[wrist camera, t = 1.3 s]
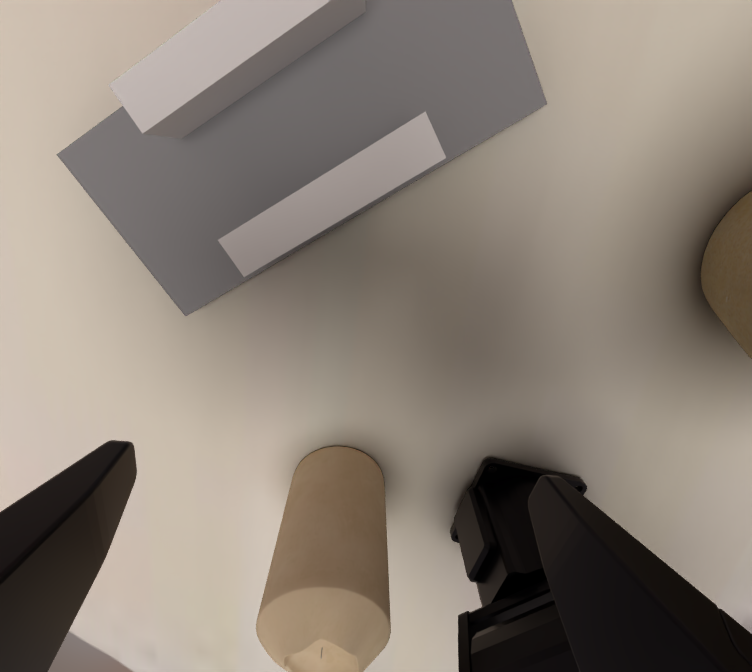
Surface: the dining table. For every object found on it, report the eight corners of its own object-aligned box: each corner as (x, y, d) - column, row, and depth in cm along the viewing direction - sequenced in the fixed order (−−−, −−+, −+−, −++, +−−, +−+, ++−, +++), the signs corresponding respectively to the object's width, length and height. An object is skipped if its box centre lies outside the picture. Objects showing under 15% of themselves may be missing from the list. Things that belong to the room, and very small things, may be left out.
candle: (273, 480, 24) (214, 671, 15) (339, 428, 23) (318, 604, 14) (338, 529, 26) (320, 729, 17) (403, 483, 25) (422, 674, 15)
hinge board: (537, 106, 17) (584, 90, 13) (194, 309, 20) (154, 342, 16) (456, -123, 14) (487, -225, 10) (73, 155, 17) (-7, 152, 14)
